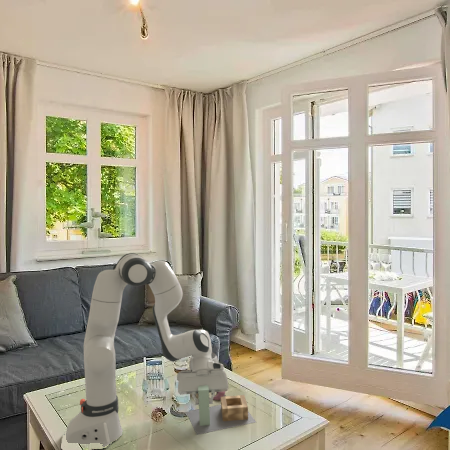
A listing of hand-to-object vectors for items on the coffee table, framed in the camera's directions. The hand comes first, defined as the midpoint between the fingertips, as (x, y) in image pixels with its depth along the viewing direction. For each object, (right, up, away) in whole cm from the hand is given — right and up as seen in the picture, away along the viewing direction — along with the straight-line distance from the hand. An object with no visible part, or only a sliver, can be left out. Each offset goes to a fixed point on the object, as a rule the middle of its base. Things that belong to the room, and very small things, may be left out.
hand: (204, 403), depth 159 cm
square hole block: (+12, -7, +7) cm, 16 cm away
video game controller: (+6, -8, +24) cm, 26 cm away
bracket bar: (0, -8, +1) cm, 8 cm away
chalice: (-1, -8, +35) cm, 36 cm away
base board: (+6, -9, +5) cm, 12 cm away
